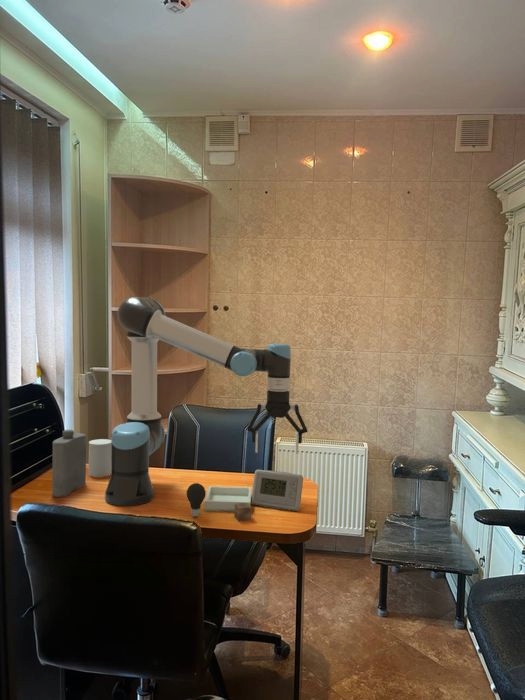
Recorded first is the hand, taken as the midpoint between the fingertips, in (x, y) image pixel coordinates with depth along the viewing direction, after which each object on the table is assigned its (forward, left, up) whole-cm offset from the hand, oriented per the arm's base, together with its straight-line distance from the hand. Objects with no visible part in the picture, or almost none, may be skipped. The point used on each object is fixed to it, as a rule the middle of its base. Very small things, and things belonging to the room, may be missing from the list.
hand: (276, 452), depth 176 cm
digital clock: (0, -12, -14) cm, 19 cm away
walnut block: (-10, -23, -14) cm, 29 cm away
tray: (-15, -11, -14) cm, 23 cm away
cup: (-64, +15, -14) cm, 67 cm away
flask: (-69, -3, -14) cm, 71 cm away
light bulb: (-24, -23, -14) cm, 36 cm away
